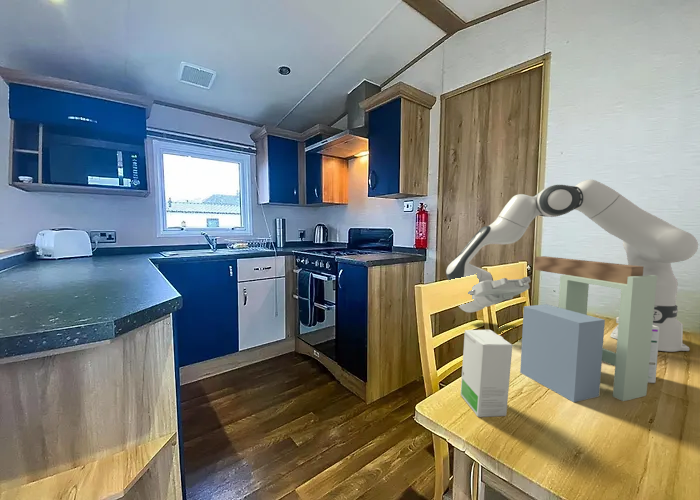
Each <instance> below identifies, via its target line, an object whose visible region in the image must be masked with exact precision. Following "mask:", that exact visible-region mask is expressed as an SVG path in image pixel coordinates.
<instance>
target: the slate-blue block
mask: <svg viewBox="0 0 700 500" xmlns="http://www.w3.org/2000/svg"><path fill="white" fill-rule="evenodd" d="M522 315H523V316H522V317H523V318H522V335H521V337H522V338H521V350H520V351H521V352H520V354H521V355H520V371H519V372H520V374H521V375H524V376H525V377H527V378H529V379H531V380H533V381H535V382H537V383H538V384H540V385H542V386H544V387H545V388H547V389H549V390H551V391H552V392H555V393H556V394H559V395H560V396H562V397H563V398H565V399H567V400H569V401H571V402H573V403H577V402H581V401H585V400H590V399H594V398H598V397H600V389H601V376H602V365H603V364H602V363H603V361H602V352H603V348H604V337H605V324H606V320H605V319H602V318H600V317H595V316H592V315H588V314H587V315H585V314H581V313H578V312H574V311H570V310H566V309H563V308H559V307H558V306H555V305H551V304H547V303H546V304H535V305H526V306H523V314H522Z"/></svg>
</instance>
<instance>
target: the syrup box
mask: <svg viewBox="0 0 700 500" xmlns="http://www.w3.org/2000/svg"><path fill="white" fill-rule="evenodd" d="M658 342H659V327H657V326H654V325H653V327H652V338H651V349H650V360H649V371H648V383H649V384H656V379H657V367H658V353H659V350H658ZM648 383H647V384H648Z"/></svg>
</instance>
